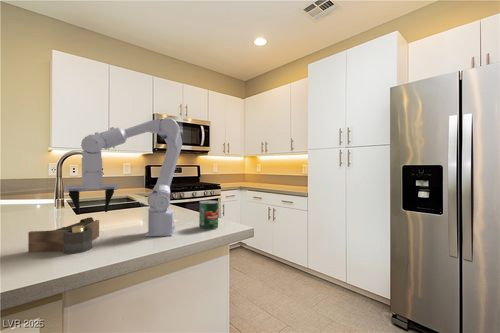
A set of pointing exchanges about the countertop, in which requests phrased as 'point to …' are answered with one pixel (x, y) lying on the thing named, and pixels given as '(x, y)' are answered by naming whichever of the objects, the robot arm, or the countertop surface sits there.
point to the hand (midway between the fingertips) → (92, 212)
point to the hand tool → (78, 224)
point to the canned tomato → (208, 215)
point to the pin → (77, 229)
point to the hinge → (63, 239)
